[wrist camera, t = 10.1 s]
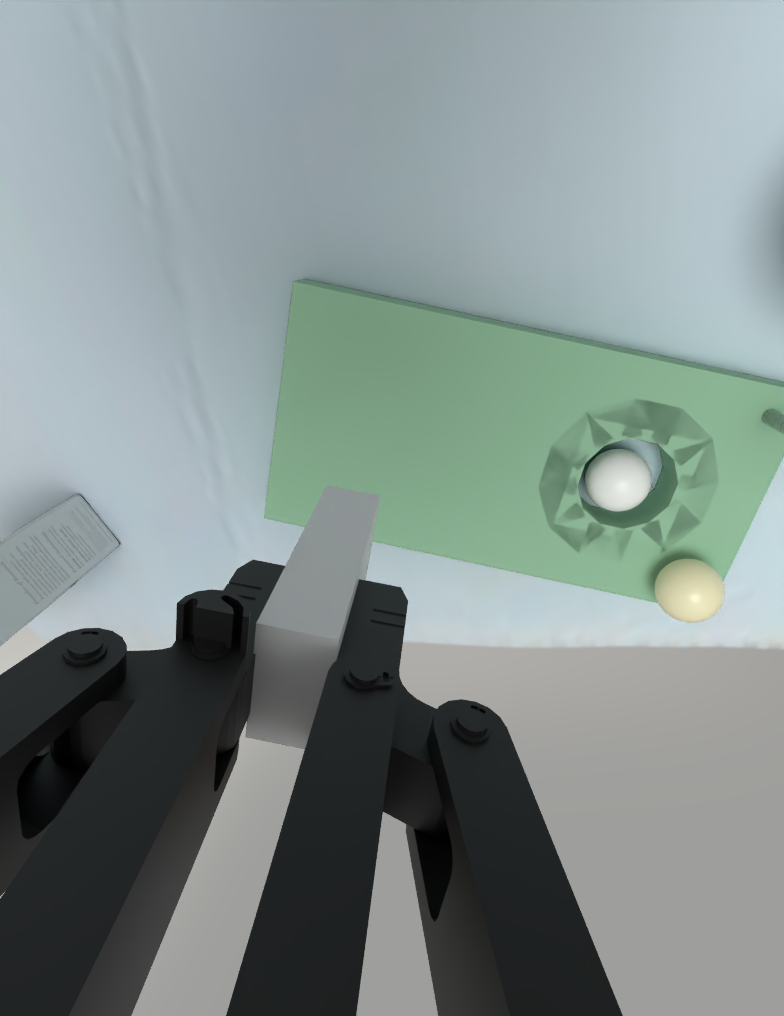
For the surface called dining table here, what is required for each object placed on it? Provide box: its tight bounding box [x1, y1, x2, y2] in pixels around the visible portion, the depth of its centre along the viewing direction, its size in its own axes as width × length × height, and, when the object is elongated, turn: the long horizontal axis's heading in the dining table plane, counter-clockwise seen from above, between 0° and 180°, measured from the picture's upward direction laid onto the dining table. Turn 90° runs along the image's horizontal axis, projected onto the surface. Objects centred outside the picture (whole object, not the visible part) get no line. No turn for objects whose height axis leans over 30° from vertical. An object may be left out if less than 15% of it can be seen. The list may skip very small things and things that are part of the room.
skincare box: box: [0, 495, 119, 646], centre depth 35 cm, size 6×4×12 cm
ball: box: [585, 449, 652, 511], centre depth 34 cm, size 3×3×3 cm
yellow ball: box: [655, 559, 725, 623], centre depth 33 cm, size 3×3×3 cm
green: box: [264, 279, 784, 603], centre depth 34 cm, size 26×13×2 cm, turn 79°
